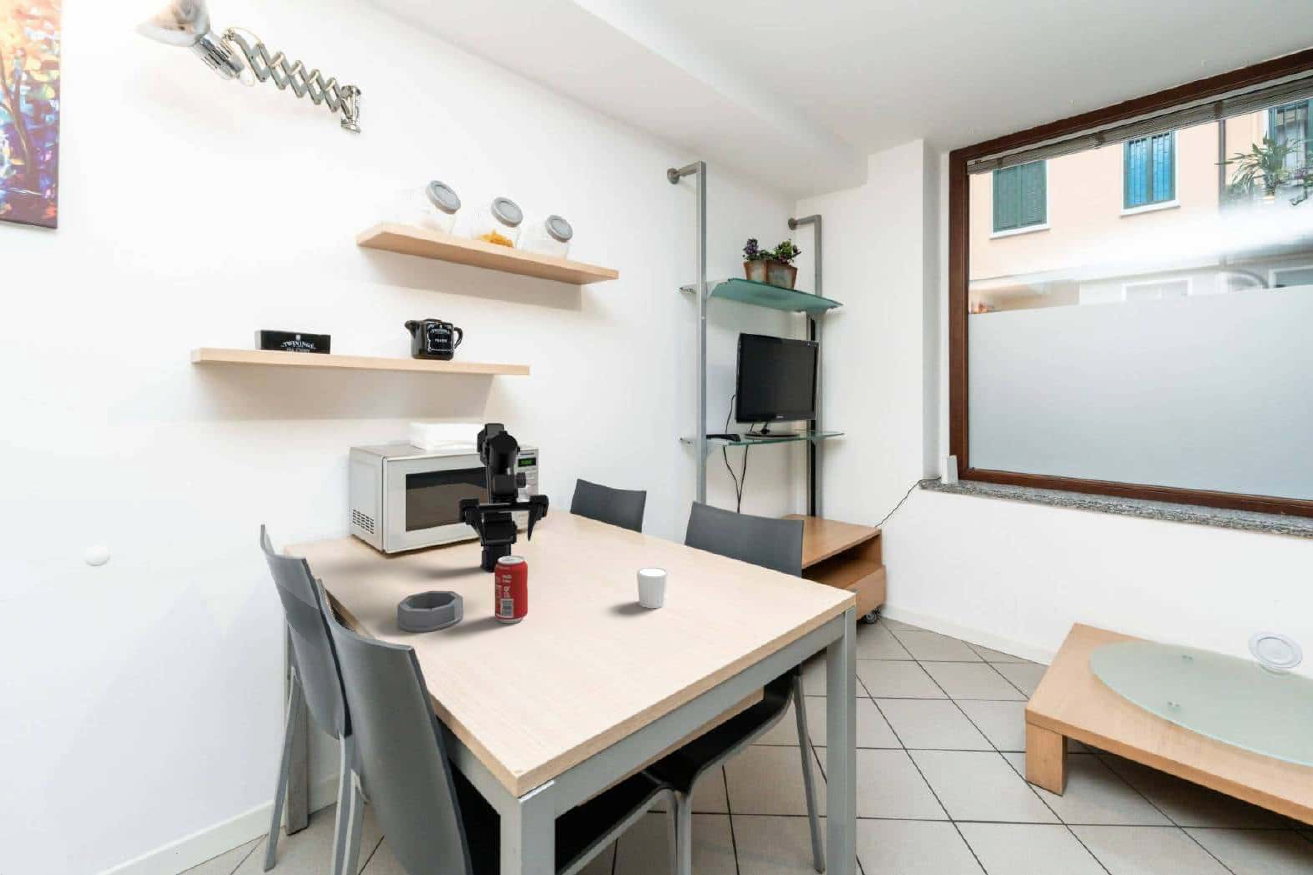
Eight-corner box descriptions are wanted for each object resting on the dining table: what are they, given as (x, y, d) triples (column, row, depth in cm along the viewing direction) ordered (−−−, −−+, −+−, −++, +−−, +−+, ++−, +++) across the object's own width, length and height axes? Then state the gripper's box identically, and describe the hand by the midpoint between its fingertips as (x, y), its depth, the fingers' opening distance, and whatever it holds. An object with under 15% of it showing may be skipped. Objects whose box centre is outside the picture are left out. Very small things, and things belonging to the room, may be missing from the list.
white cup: (635, 598, 122) (636, 567, 121) (666, 597, 122) (667, 566, 122) (637, 610, 115) (637, 577, 114) (670, 609, 115) (670, 576, 115)
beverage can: (533, 615, 111) (533, 556, 111) (516, 627, 106) (515, 565, 105) (507, 610, 114) (506, 553, 113) (488, 622, 108) (487, 561, 107)
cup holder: (447, 603, 117) (447, 585, 117) (474, 620, 108) (473, 601, 108) (387, 618, 109) (387, 599, 108) (411, 638, 100) (411, 617, 100)
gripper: (458, 460, 117) (459, 523, 107) (547, 458, 123) (556, 517, 113) (458, 491, 125) (459, 552, 115) (542, 488, 131) (550, 545, 121)
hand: (507, 541), depth 116 cm, fingers open, 9 cm apart
